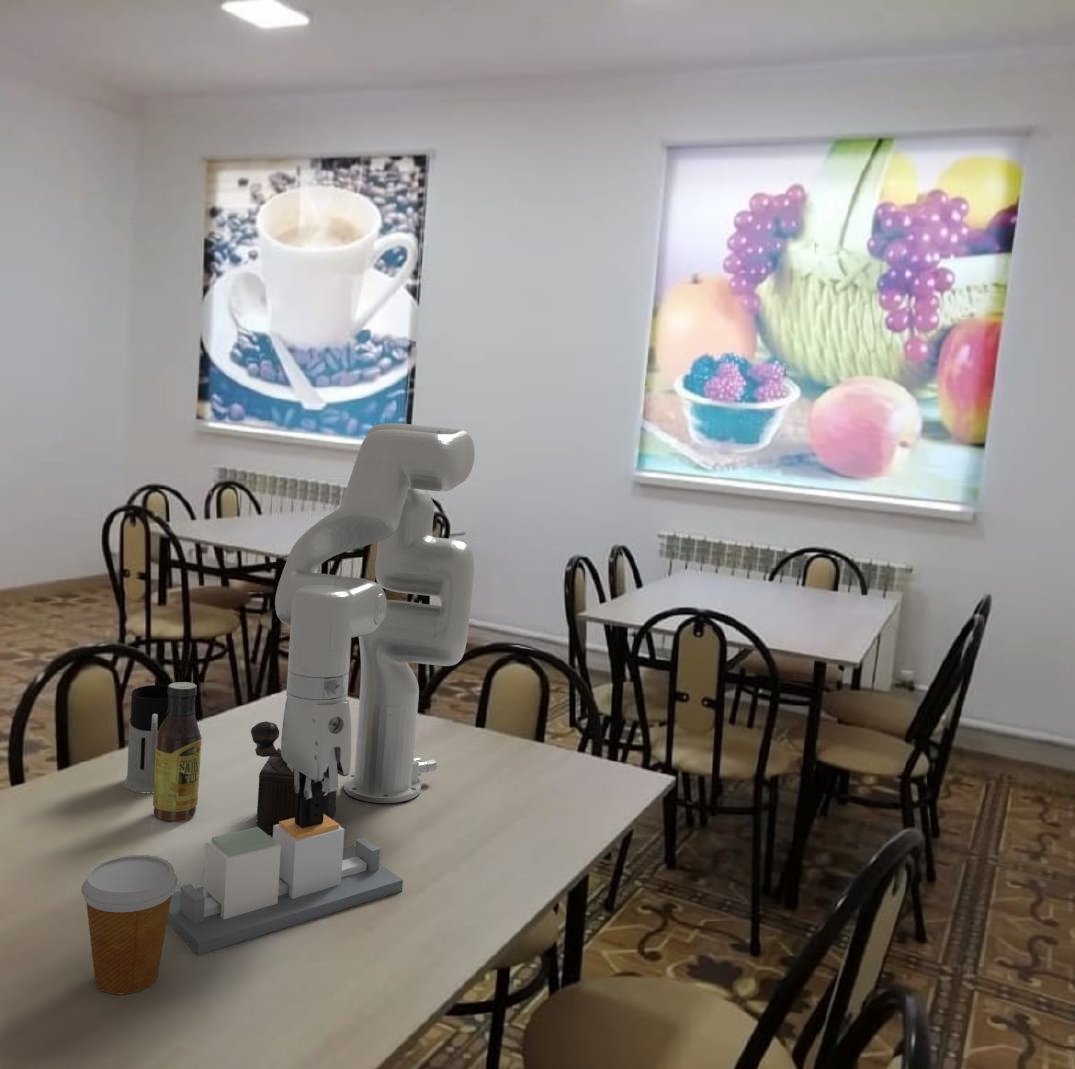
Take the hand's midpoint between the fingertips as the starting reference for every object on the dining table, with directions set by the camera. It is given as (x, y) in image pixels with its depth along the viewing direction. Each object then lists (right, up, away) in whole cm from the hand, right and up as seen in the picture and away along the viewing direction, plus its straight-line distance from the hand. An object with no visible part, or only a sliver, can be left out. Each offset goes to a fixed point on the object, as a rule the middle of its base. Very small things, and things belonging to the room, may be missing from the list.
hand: (308, 823), depth 129 cm
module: (-1, -8, +1) cm, 8 cm away
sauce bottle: (-25, -5, +21) cm, 33 cm away
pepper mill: (-7, -7, +20) cm, 22 cm away
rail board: (-3, -10, -1) cm, 10 cm away
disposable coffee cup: (-15, -11, -20) cm, 27 cm away
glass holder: (-31, -3, +30) cm, 43 cm away
